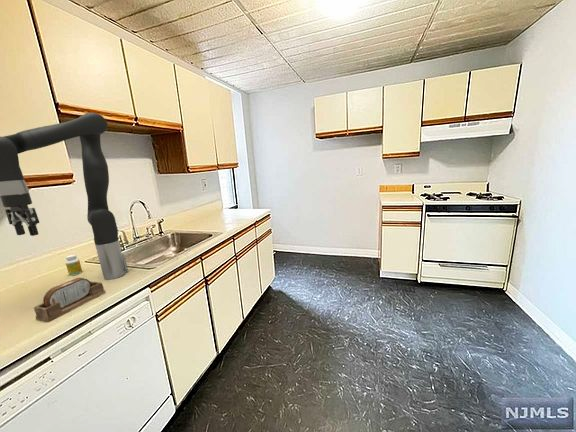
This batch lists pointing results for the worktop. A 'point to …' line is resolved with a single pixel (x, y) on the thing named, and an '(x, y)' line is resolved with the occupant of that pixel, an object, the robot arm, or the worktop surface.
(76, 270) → the supplement bottle
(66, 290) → the tin
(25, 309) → the worktop surface
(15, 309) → the worktop surface
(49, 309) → the rack
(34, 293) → the worktop surface
